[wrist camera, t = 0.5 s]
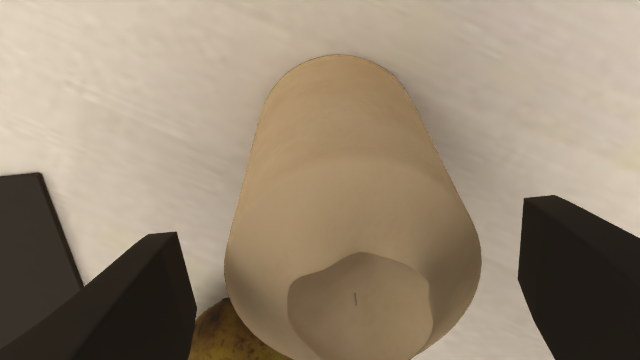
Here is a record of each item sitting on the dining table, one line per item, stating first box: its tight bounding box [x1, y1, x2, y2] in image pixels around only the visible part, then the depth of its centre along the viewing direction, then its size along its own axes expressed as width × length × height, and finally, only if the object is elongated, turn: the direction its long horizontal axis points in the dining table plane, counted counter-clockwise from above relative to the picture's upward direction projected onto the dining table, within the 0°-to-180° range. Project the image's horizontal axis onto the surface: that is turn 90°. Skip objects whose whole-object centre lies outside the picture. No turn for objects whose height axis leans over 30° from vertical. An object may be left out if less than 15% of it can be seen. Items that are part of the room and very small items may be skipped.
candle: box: [224, 55, 482, 360], centre depth 15 cm, size 6×6×10 cm
